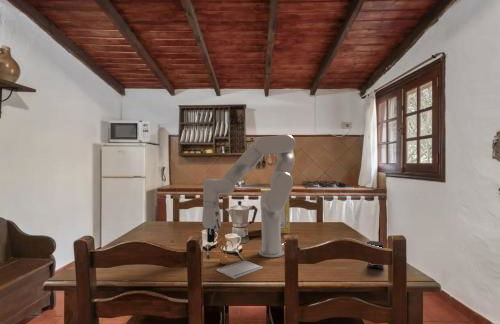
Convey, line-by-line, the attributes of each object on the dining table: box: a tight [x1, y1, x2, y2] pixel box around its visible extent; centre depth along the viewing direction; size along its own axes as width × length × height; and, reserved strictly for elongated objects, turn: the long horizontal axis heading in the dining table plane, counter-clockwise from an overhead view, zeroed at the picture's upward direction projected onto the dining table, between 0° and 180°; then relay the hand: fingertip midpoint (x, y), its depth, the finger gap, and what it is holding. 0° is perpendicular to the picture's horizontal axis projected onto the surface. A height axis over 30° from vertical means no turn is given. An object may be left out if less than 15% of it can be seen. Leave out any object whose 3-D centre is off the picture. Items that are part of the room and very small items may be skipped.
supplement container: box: [366, 240, 385, 270], centre depth 122 cm, size 7×7×10 cm
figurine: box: [215, 236, 234, 265], centre depth 130 cm, size 8×6×12 cm
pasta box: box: [260, 188, 291, 234], centre depth 188 cm, size 18×10×28 cm, turn 88°
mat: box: [216, 260, 264, 280], centre depth 122 cm, size 16×12×1 cm
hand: (210, 241), depth 137 cm, fingers closed
